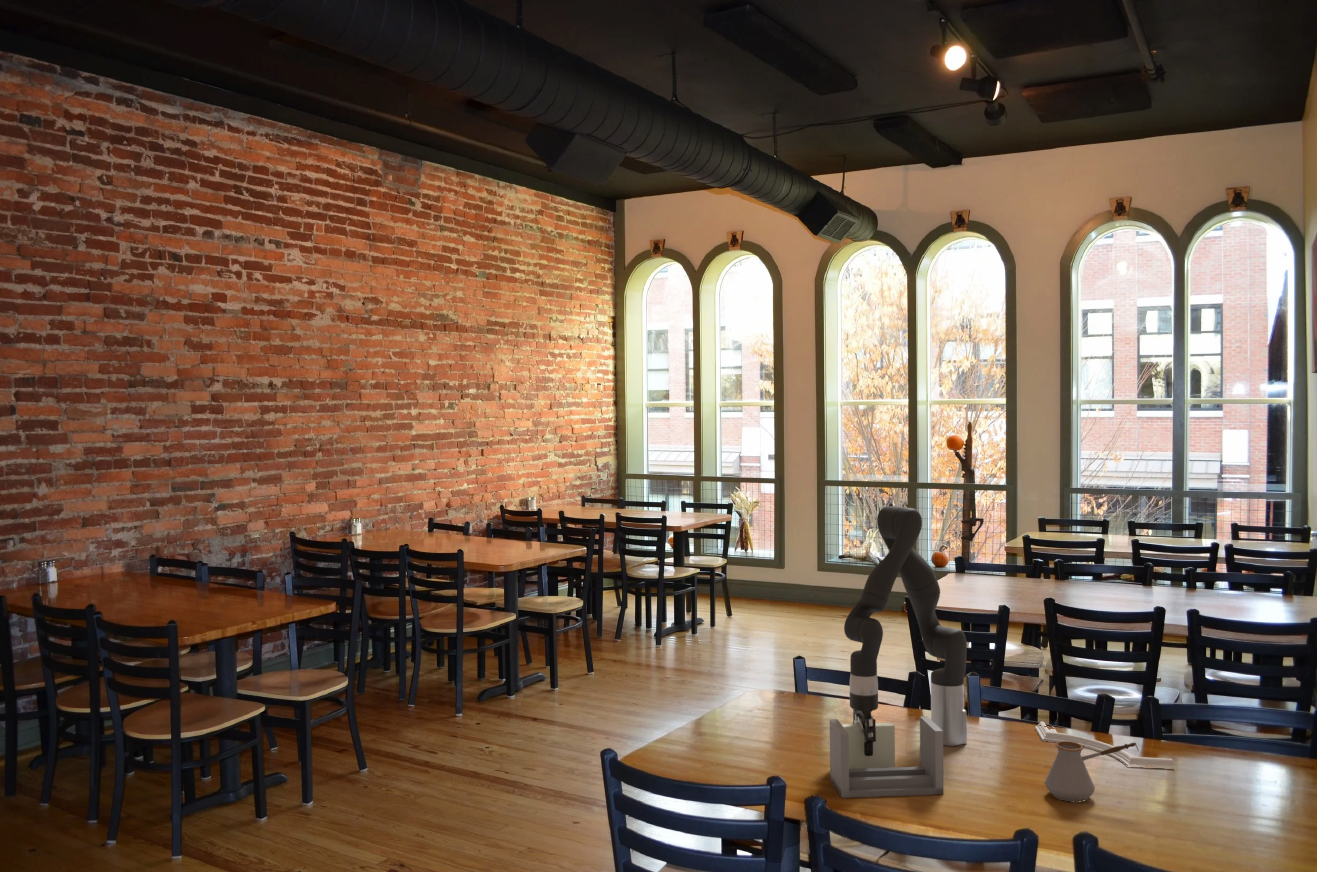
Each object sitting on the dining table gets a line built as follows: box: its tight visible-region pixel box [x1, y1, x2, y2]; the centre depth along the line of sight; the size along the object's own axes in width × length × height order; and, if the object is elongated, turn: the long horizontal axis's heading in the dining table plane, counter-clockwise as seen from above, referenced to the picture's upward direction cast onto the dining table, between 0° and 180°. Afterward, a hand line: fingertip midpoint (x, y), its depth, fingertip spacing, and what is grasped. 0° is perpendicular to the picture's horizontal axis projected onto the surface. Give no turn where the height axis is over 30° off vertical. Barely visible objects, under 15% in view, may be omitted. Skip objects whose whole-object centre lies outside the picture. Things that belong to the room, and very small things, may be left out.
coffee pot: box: [1044, 741, 1140, 803], centre depth 240 cm, size 21×12×15 cm, turn 70°
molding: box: [1034, 721, 1174, 767], centre depth 276 cm, size 42×12×3 cm, turn 33°
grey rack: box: [829, 716, 945, 799], centre depth 250 cm, size 26×12×16 cm, turn 93°
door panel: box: [841, 722, 896, 769], centre depth 262 cm, size 16×3×12 cm, turn 93°
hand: (864, 749), depth 262 cm, fingers open, 8 cm apart
